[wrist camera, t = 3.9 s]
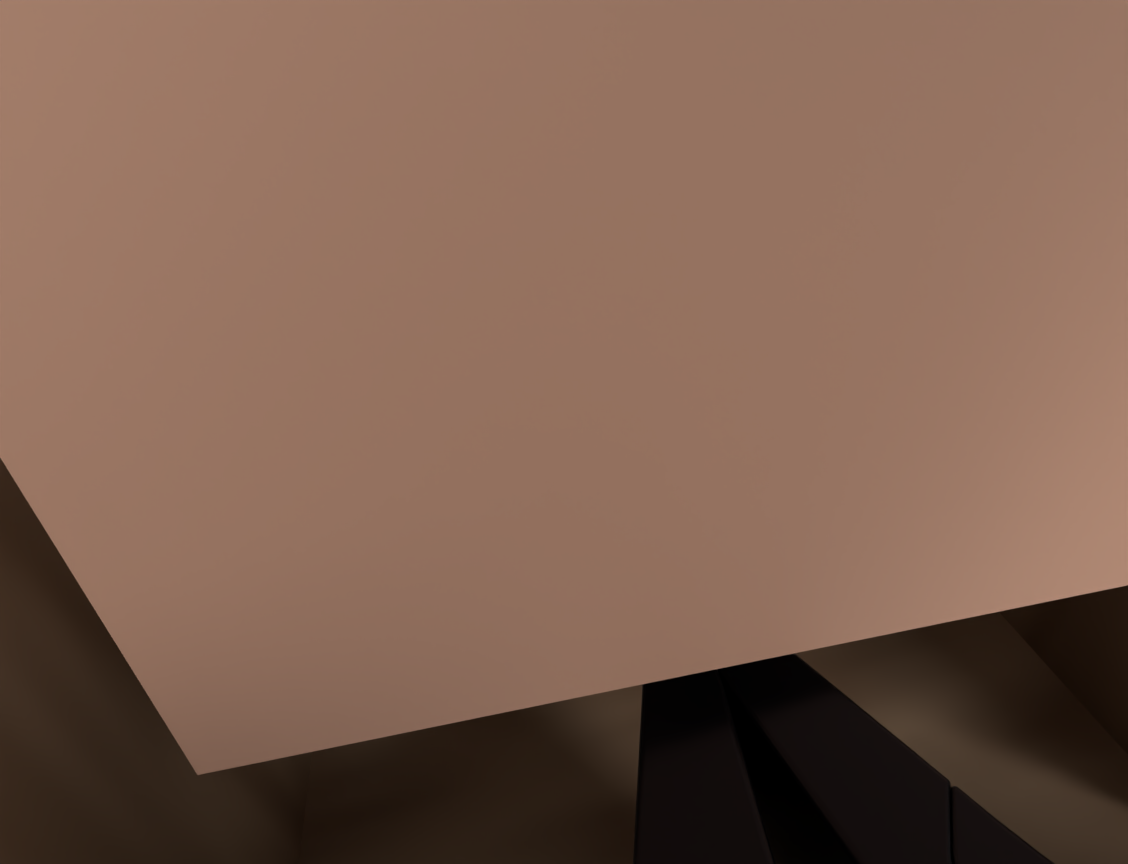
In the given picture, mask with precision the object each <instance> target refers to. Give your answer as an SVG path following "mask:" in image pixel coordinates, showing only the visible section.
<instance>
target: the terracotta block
mask: <svg viewBox="0 0 1128 864" xmlns="http://www.w3.org/2000/svg"><path fill="white" fill-rule="evenodd" d="M0 458H1V460H2V461H3V463H4V464H5V466H6V468H7V469H8V471H9V473H10V474H11V476H12V477H13V479H14V481H15V482H16V484H17V485H18V487H19V489H20V490H21V492H22V493H23V495H24V497H25V498H26V500H27V501H28V503H29V505H30V506H31V508H32V510H33V511H34V513H35V514H36V516H37V518H38V519H39V521H40V522H41V524H42V526H43V527H44V529H45V530H46V532H47V534H48V535H49V537H50V538H51V540H52V542H53V543H54V545H55V547H56V548H57V550H58V551H59V553H60V555H61V556H62V558H63V559H64V561H65V563H66V564H67V566H68V567H69V569H70V571H71V572H72V574H73V575H74V577H75V579H76V580H77V582H78V584H79V585H80V587H81V588H82V590H83V592H84V593H85V595H86V596H87V598H88V600H89V601H90V603H91V604H92V606H93V608H94V609H95V611H96V612H97V614H98V616H99V617H100V619H101V621H102V622H103V624H104V625H105V627H106V629H107V630H108V632H109V633H110V635H111V637H112V638H113V640H114V641H115V643H116V645H117V646H118V648H119V650H120V651H121V653H122V654H123V656H124V658H125V659H126V661H127V662H128V664H129V666H130V667H131V669H132V670H133V672H134V674H135V675H136V677H137V678H138V680H139V682H140V683H141V685H142V687H143V688H144V690H145V691H146V693H147V695H148V696H149V698H150V699H151V701H152V703H153V704H154V706H155V707H156V709H157V711H158V712H159V714H160V715H161V717H162V719H163V720H164V722H165V724H166V725H167V727H168V728H169V730H170V732H171V733H172V735H173V736H174V738H175V740H176V741H177V743H178V744H179V746H180V748H181V749H182V751H183V752H184V754H185V756H186V757H187V759H188V761H189V762H190V764H191V765H192V767H193V769H194V770H195V772H196V773H197V775H200V774H205V773H210V772H215V771H220V770H225V769H230V768H235V767H240V766H245V765H249V764H254V763H259V762H264V761H269V760H274V759H279V758H284V757H289V756H294V755H298V754H303V753H308V752H313V751H318V750H323V749H328V748H333V747H338V746H343V745H348V744H352V743H357V742H362V741H367V740H372V739H377V738H382V737H387V736H392V735H397V734H401V733H406V732H411V731H416V730H421V729H426V728H431V727H436V726H441V725H446V724H450V723H455V722H460V721H465V720H470V719H475V718H480V717H485V716H490V715H495V714H499V713H504V712H509V711H514V710H519V709H524V708H529V707H534V706H539V705H544V704H548V703H553V702H558V701H563V700H568V699H573V698H578V697H583V696H588V695H593V694H597V693H602V692H607V691H612V690H617V689H622V688H627V687H632V686H637V685H642V684H646V683H651V682H656V681H661V680H666V679H671V678H676V677H681V676H686V675H691V674H696V673H700V672H705V671H710V670H715V669H720V668H725V667H730V666H735V665H740V664H745V663H749V662H754V661H759V660H764V659H769V658H774V657H779V656H784V655H789V654H794V653H798V652H803V651H808V650H813V649H818V648H823V647H828V646H833V645H838V644H843V643H847V642H852V641H857V640H862V639H867V638H872V637H877V636H882V635H887V634H892V633H896V632H901V631H906V630H911V629H916V628H921V627H926V626H931V625H936V624H941V623H945V622H950V621H955V620H960V619H965V618H970V617H975V616H980V615H985V614H990V613H994V612H999V611H1004V610H1009V609H1014V608H1019V607H1024V606H1029V605H1034V604H1039V603H1044V602H1048V601H1053V600H1058V599H1063V598H1068V597H1073V596H1078V595H1083V594H1088V593H1093V592H1097V591H1102V590H1107V589H1112V588H1117V587H1122V586H1127V585H1128V0H0Z"/></svg>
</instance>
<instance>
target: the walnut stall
mask: <svg viewBox="0 0 1128 864" xmlns="http://www.w3.org/2000/svg"><path fill="white" fill-rule="evenodd" d="M795 654H796V655H797V656H799V657H800V658H801V659H802V660H804V661H805V662H806V663H807V664H808V665H810V666H811V667H812V668H813V669H814V670H816V671H817V672H818V673H819V674H821V675H822V676H823V677H824V678H825V679H827V680H828V681H829V682H830V683H832V684H833V685H834V686H835V687H836V688H838V689H839V690H840V691H841V692H842V693H844V694H845V695H846V696H847V697H849V698H850V699H851V700H852V701H853V702H855V703H856V704H857V705H858V706H860V707H861V708H862V709H863V710H864V711H866V712H867V713H868V714H869V715H870V716H872V717H873V718H874V719H875V720H877V721H878V722H879V723H880V724H881V725H883V726H884V727H885V728H886V729H888V730H889V731H890V732H891V733H892V734H894V735H895V736H896V737H897V738H898V739H900V740H901V741H902V742H903V743H905V744H906V745H907V746H908V747H909V748H911V749H912V750H913V751H914V752H916V753H917V754H918V755H919V756H920V757H922V758H923V759H924V760H925V761H926V762H928V763H929V764H930V765H931V766H933V767H934V768H935V769H936V770H937V771H939V772H940V773H941V774H942V775H943V776H945V777H946V778H947V779H948V780H949V781H950V787H953V786H957V787H959V788H960V789H961V790H962V791H963V792H965V793H966V794H967V795H968V796H969V797H971V798H972V799H973V800H974V801H975V802H977V803H978V804H979V805H980V806H981V807H983V808H984V809H985V810H986V811H987V812H989V813H990V814H991V815H992V816H994V817H995V818H996V819H998V820H999V821H1000V822H1001V823H1003V824H1004V825H1005V826H1006V827H1008V828H1009V829H1010V830H1012V831H1013V832H1014V833H1015V834H1017V835H1018V836H1019V837H1021V838H1022V839H1023V840H1024V841H1026V842H1027V843H1028V844H1029V845H1031V846H1032V847H1033V848H1035V849H1036V850H1037V851H1038V852H1040V853H1041V854H1042V855H1044V856H1045V857H1046V858H1048V859H1049V860H1051V861H1052V862H1053V863H1055V864H1128V585H1127V586H1122V587H1117V588H1112V589H1107V590H1102V591H1097V592H1093V593H1088V594H1083V595H1078V596H1073V597H1068V598H1063V599H1058V600H1053V601H1048V602H1044V603H1039V604H1034V605H1029V606H1024V607H1019V608H1014V609H1009V610H1004V611H999V612H994V613H990V614H985V615H980V616H975V617H970V618H965V619H960V620H955V621H950V622H945V623H941V624H936V625H931V626H926V627H921V628H916V629H911V630H906V631H901V632H896V633H892V634H887V635H882V636H877V637H872V638H867V639H862V640H857V641H852V642H847V643H843V644H838V645H833V646H828V647H823V648H818V649H813V650H808V651H803V652H798V653H795ZM641 703H642V685H637V686H632V687H627V688H622V689H617V690H612V691H607V692H602V693H597V694H593V695H588V696H583V697H578V698H573V699H568V700H563V701H558V702H553V703H548V704H544V705H539V706H534V707H529V708H524V709H519V710H514V711H509V712H504V713H499V714H495V715H490V716H485V717H480V718H475V719H470V720H465V721H460V722H455V723H450V724H446V725H441V726H436V727H431V728H426V729H421V730H416V731H411V732H406V733H401V734H397V735H392V736H387V737H382V738H377V739H372V740H367V741H362V742H357V743H352V744H348V745H343V746H338V747H333V748H328V749H323V750H318V751H313V752H308V753H303V754H298V755H294V756H289V757H284V758H279V759H274V760H269V761H264V762H259V763H254V764H249V765H245V766H240V767H235V768H230V769H225V770H220V771H215V772H210V773H205V774H200V775H197V773H196V772H195V770H194V769H193V767H192V765H191V764H190V762H189V761H188V759H187V757H186V756H185V754H184V752H183V751H182V749H181V748H180V746H179V744H178V743H177V741H176V740H175V738H174V736H173V735H172V733H171V732H170V730H169V728H168V727H167V725H166V724H165V722H164V720H163V719H162V717H161V715H160V714H159V712H158V711H157V709H156V707H155V706H154V704H153V703H152V701H151V699H150V698H149V696H148V695H147V693H146V691H145V690H144V688H143V687H142V685H141V683H140V682H139V680H138V678H137V677H136V675H135V674H134V672H133V670H132V669H131V667H130V666H129V664H128V662H127V661H126V659H125V658H124V656H123V654H122V653H121V651H120V650H119V648H118V646H117V645H116V643H115V641H114V640H113V638H112V637H111V635H110V633H109V632H108V630H107V629H106V627H105V625H104V624H103V622H102V621H101V619H100V617H99V616H98V614H97V612H96V611H95V609H94V608H93V606H92V604H91V603H90V601H89V600H88V598H87V596H86V595H85V593H84V592H83V590H82V588H81V587H80V585H79V584H78V582H77V580H76V579H75V577H74V575H73V574H72V572H71V571H70V569H69V567H68V566H67V564H66V563H65V561H64V559H63V558H62V556H61V555H60V553H59V551H58V550H57V548H56V547H55V545H54V543H53V542H52V540H51V538H50V537H49V535H48V534H47V532H46V530H45V529H44V527H43V526H42V524H41V522H40V521H39V519H38V518H37V516H36V514H35V513H34V511H33V510H32V508H31V506H30V505H29V503H28V501H27V500H26V498H25V497H24V495H23V493H22V492H21V490H20V489H19V487H18V485H17V484H16V482H15V481H14V479H13V477H12V476H11V474H10V473H9V471H8V469H7V468H6V466H5V464H4V463H3V461H2V460H1V458H0V864H633V852H634V834H635V815H636V796H637V778H638V759H639V740H640V722H641Z"/></svg>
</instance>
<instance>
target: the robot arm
mask: <svg viewBox="0 0 1128 864" xmlns="http://www.w3.org/2000/svg"><path fill="white" fill-rule="evenodd" d="M633 864H1055V863H1053V862H1052V861H1051V860H1049V859H1048V858H1046V857H1045V856H1044V855H1042V854H1041V853H1040V852H1038V851H1037V850H1036V849H1035V848H1033V847H1032V846H1031V845H1029V844H1028V843H1027V842H1026V841H1024V840H1023V839H1022V838H1021V837H1019V836H1018V835H1017V834H1015V833H1014V832H1013V831H1012V830H1010V829H1009V828H1008V827H1006V826H1005V825H1004V824H1003V823H1001V822H1000V821H999V820H998V819H996V818H995V817H994V816H992V815H991V814H990V813H989V812H987V811H986V810H985V809H984V808H983V807H981V806H980V805H979V804H978V803H977V802H975V801H974V800H973V799H972V798H971V797H969V796H968V795H967V794H966V793H965V792H963V791H962V790H961V789H960V788H959V787H957V786H953V787H950V781H949V780H948V779H947V778H946V777H945V776H943V775H942V774H941V773H940V772H939V771H937V770H936V769H935V768H934V767H933V766H931V765H930V764H929V763H928V762H926V761H925V760H924V759H923V758H922V757H920V756H919V755H918V754H917V753H916V752H914V751H913V750H912V749H911V748H909V747H908V746H907V745H906V744H905V743H903V742H902V741H901V740H900V739H898V738H897V737H896V736H895V735H894V734H892V733H891V732H890V731H889V730H888V729H886V728H885V727H884V726H883V725H881V724H880V723H879V722H878V721H877V720H875V719H874V718H873V717H872V716H870V715H869V714H868V713H867V712H866V711H864V710H863V709H862V708H861V707H860V706H858V705H857V704H856V703H855V702H853V701H852V700H851V699H850V698H849V697H847V696H846V695H845V694H844V693H842V692H841V691H840V690H839V689H838V688H836V687H835V686H834V685H833V684H832V683H830V682H829V681H828V680H827V679H825V678H824V677H823V676H822V675H821V674H819V673H818V672H817V671H816V670H814V669H813V668H812V667H811V666H810V665H808V664H807V663H806V662H805V661H804V660H802V659H801V658H800V657H799V656H797V655H796V654H795V653H794V654H789V655H784V656H779V657H774V658H769V659H764V660H759V661H754V662H749V663H745V664H740V665H735V666H730V667H725V668H720V669H715V670H710V671H705V672H700V673H696V674H691V675H686V676H681V677H676V678H671V679H666V680H661V681H656V682H651V683H646V684H642V703H641V722H640V740H639V759H638V778H637V796H636V815H635V834H634V852H633Z"/></svg>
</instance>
